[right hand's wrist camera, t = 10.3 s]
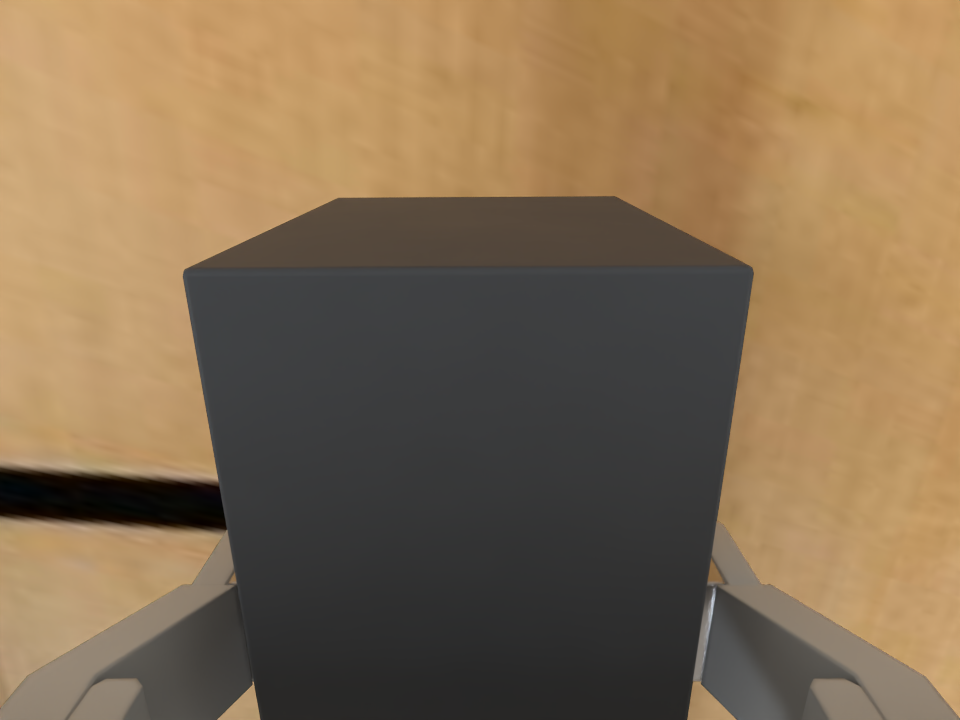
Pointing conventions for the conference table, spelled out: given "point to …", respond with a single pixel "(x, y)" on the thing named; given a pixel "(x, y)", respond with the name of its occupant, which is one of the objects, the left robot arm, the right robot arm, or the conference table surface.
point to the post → (471, 454)
